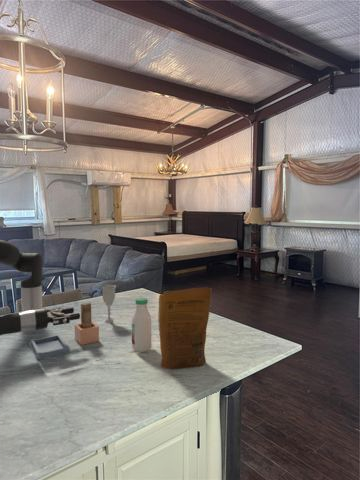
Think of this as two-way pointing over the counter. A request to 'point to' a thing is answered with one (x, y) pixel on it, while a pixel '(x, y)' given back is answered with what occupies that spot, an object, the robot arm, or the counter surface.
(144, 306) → the milk bottle
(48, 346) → the slate tray
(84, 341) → the terracotta cup
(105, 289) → the chalice
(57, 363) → the counter surface
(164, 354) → the pancake mix bag
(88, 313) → the walnut dowel
